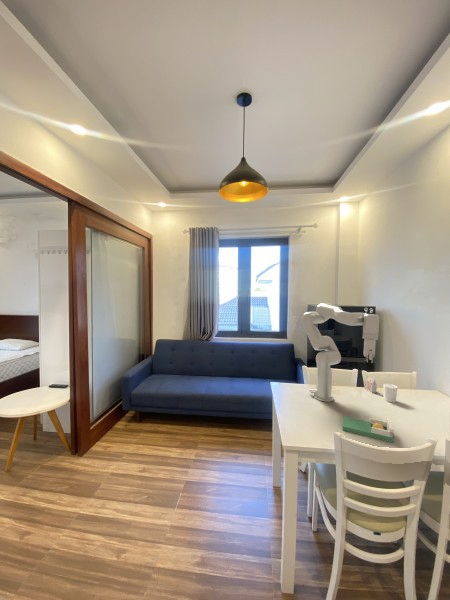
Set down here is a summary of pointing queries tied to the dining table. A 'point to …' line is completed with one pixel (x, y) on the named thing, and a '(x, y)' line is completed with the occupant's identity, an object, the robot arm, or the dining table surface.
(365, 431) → the green
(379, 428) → the ball
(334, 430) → the dining table surface
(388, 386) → the white cup
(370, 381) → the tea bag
